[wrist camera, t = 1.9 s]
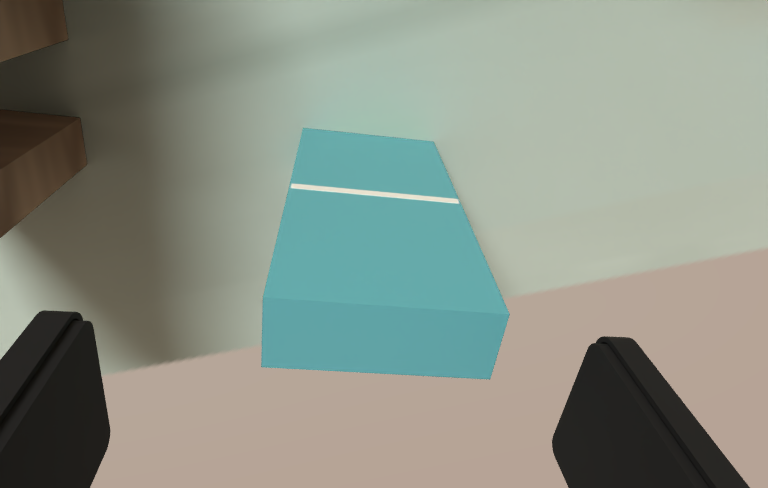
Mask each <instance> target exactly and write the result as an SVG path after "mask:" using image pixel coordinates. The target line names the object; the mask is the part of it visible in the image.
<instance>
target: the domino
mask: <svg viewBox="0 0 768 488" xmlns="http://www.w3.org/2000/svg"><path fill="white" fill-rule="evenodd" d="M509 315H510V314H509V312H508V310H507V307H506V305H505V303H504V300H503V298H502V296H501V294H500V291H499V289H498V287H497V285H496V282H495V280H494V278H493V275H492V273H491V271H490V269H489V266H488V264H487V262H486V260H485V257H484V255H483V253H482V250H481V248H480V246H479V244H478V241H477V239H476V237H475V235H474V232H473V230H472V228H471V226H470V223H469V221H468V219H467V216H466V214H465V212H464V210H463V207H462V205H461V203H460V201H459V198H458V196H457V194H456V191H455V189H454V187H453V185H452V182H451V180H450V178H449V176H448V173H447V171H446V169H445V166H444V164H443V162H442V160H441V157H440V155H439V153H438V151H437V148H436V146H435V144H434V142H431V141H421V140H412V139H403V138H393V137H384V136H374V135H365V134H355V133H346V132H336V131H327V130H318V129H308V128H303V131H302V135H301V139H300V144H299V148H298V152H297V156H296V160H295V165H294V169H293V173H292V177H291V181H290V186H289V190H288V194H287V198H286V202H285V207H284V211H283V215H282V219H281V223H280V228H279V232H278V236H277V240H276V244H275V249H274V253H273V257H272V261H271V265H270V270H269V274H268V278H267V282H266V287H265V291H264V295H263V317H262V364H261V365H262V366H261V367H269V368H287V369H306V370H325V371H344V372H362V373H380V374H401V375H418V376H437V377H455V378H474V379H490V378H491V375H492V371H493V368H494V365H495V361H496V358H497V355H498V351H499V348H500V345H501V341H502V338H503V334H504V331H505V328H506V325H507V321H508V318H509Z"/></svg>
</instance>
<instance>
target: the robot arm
mask: <svg viewBox="0 0 768 488" xmlns="http://www.w3.org/2000/svg"><path fill="white" fill-rule="evenodd" d="M109 438H110V425H109V419H108V413H107V408H106V401H105V395H104V389H103V383H102V377H101V371H100V365H99V359H98V353H97V347H96V341H95V335H94V329H93V325H92V323H91V322H90V321H83V318H82V316H81V314H80V313H78V312H63V311H41V312H39V313H38V314H37V315H36V316H35V317H34V319H33V320H32V321H31V322H30V324H29V325H28V326H27V327H26V329H25V330H24V331H23V332H22V334H21V335H20V336H19V337H18V339H17V340H16V341H15V342H14V344H13V345H12V346H11V347H10V349H9V350H8V351H7V352H6V354H5V355H4V356H3V357H2V359H1V360H0V488H90V486H91V484H92V482H93V479H94V477H95V475H96V473H97V470H98V468H99V466H100V464H101V461H102V459H103V457H104V455H105V452H106V450H107V447H108V443H109ZM552 447H553V453H554V456H555V458H556V460H557V462H558V465H559V467H560V469H561V471H562V474H563V476H564V478H565V480H566V483H567V485H568V487H569V488H750V487H749V486H748V485H747V484H746V482H745V481H744V480H743V478H742V477H741V476H740V475H739V473H738V472H737V471H736V470H735V468H734V467H733V466H732V464H731V463H730V462H729V461H728V459H727V458H726V457H725V455H724V454H723V453H722V452H721V450H720V449H719V448H718V446H717V445H716V444H715V443H714V441H713V440H712V439H711V437H710V436H709V435H708V434H707V432H706V431H705V430H704V429H703V427H702V426H701V425H700V423H699V422H698V421H697V420H696V418H695V417H694V416H693V414H692V413H691V412H690V411H689V409H688V408H687V407H686V406H685V404H684V403H683V402H682V400H681V399H680V398H679V397H678V395H677V394H676V393H675V391H674V390H673V389H672V388H671V386H670V385H669V384H668V382H667V381H666V380H665V379H664V378H663V376H662V375H661V373H660V372H659V371H658V370H657V368H656V367H655V366H654V365H653V363H652V362H651V361H650V360H649V358H648V357H647V356H646V354H645V353H644V352H643V350H642V349H641V348H640V347H639V345H638V344H637V343H636V342H635V341H634V340H633V339H631V338H626V337H600V338H599V339H598V340H597V342H596V343H594V344H591V345H590V346H589V348H588V350H587V352H586V355H585V357H584V360H583V362H582V365H581V367H580V370H579V372H578V375H577V377H576V380H575V382H574V385H573V387H572V390H571V392H570V395H569V398H568V400H567V403H566V405H565V408H564V410H563V413H562V415H561V418H560V420H559V423H558V425H557V428H556V430H555V433H554V436H553V440H552Z"/></svg>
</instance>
